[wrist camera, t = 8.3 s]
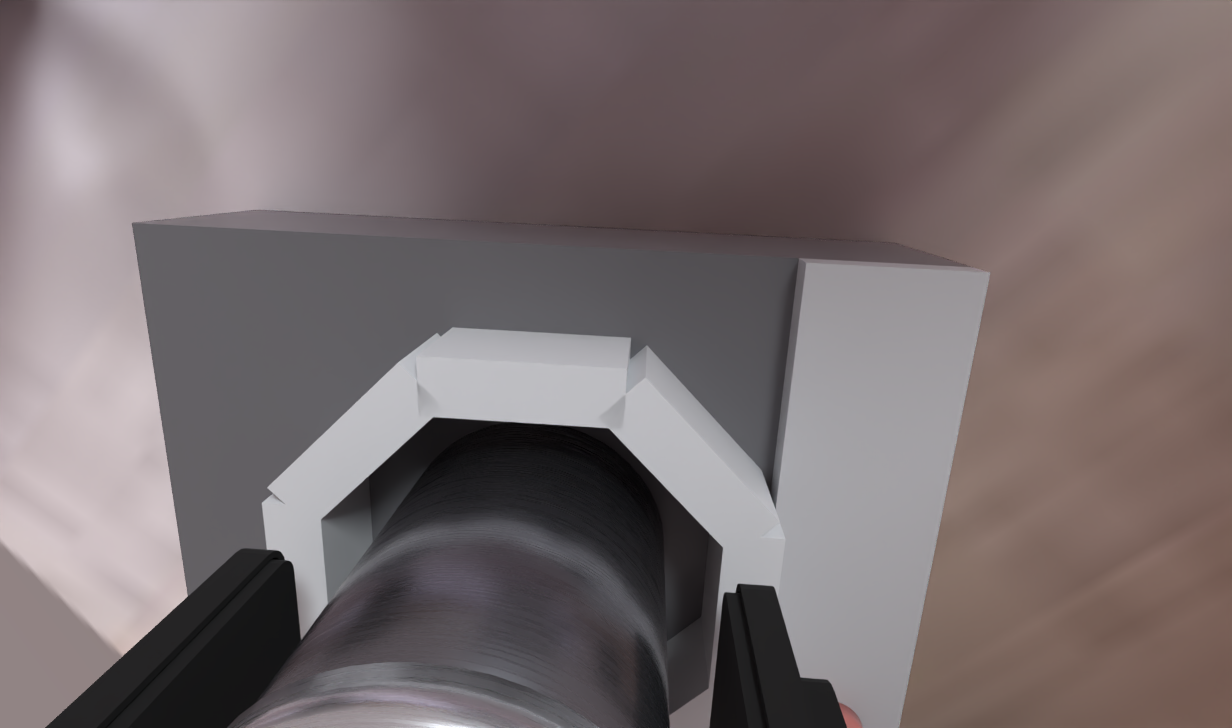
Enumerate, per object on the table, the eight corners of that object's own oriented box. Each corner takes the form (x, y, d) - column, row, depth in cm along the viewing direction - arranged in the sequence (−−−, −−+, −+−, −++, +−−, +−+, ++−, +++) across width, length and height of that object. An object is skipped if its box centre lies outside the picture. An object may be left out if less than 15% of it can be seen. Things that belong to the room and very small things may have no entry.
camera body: (255, 210, 16) (35, 232, 10) (895, 243, 16) (1036, 287, 10) (298, 637, 20) (149, 833, 14) (826, 677, 19) (900, 900, 13)
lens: (393, 409, 13) (6, 784, 5) (676, 423, 13) (716, 834, 5) (409, 645, 15) (129, 1207, 7) (661, 662, 14) (673, 1260, 7)
